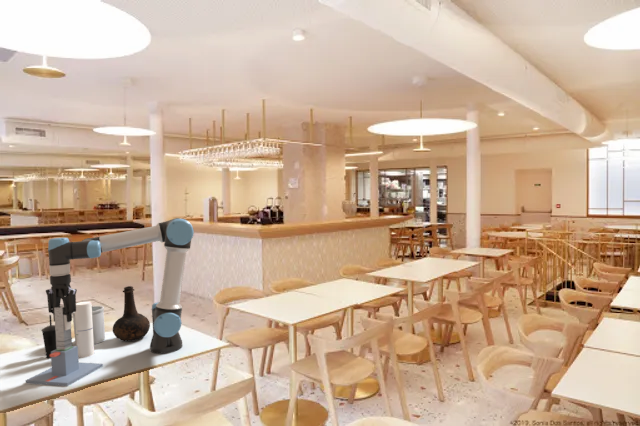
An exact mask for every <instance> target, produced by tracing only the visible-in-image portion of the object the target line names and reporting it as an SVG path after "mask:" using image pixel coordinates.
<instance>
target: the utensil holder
mask: <svg viewBox="0 0 640 426" xmlns="http://www.w3.org/2000/svg"><path fill="white" fill-rule="evenodd" d="M104 313H105V307H104V306H103V305H92V323H93V341H94V345H97V344H101V343H102V342H104V341H105V340H106V336H105V335H106V334H105V333H106V331H105V330H106V327H105V326H106V325H105V314H104ZM72 321H73V332H74V342H75V346H77V343H76V324H75V312H73V313H72Z"/></svg>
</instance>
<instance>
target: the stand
mask: <svg viewBox="0 0 640 426" xmlns="http://www.w3.org/2000/svg"><path fill="white" fill-rule="evenodd" d="M72 346H73V345H72ZM50 357H51V358H50V361H51V362H50V363H51V367H50V368H48V369H46V370H44V371H42V372H40V373H38V374H36V375H34V376H31V377H29V378H27V379H25V384H31V385H33V384H34V385H46V386H47V385H48V386H63V387H65V386H66V387H68V386H70V385H72V384H74V383H76V382H77V380H78V381H79V380H81V379H83V378H85V377H86V376H88V375H90V374H92V373H93V372H96V371H97V370H99V369H101V368H103V366H104V365H103V363H96V362H95V363H94V362H79V361H80V360H79V357H78V346H77V345H74V346H73V348H71V349H69V350H67V351H56V350H53V351H51V354H50Z"/></svg>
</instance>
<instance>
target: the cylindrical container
mask: <svg viewBox="0 0 640 426" xmlns="http://www.w3.org/2000/svg"><path fill="white" fill-rule="evenodd" d="M92 306H93V305H92V301H89V300H88V301H87V300H86V301H79V302H76V312H75V324H76V343H77V345H76V346H78V358H87V357H91V356H93V355H94V354H95V347H94V346H95V344H94V341H93V323H92ZM76 343H75V344H76Z"/></svg>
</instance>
